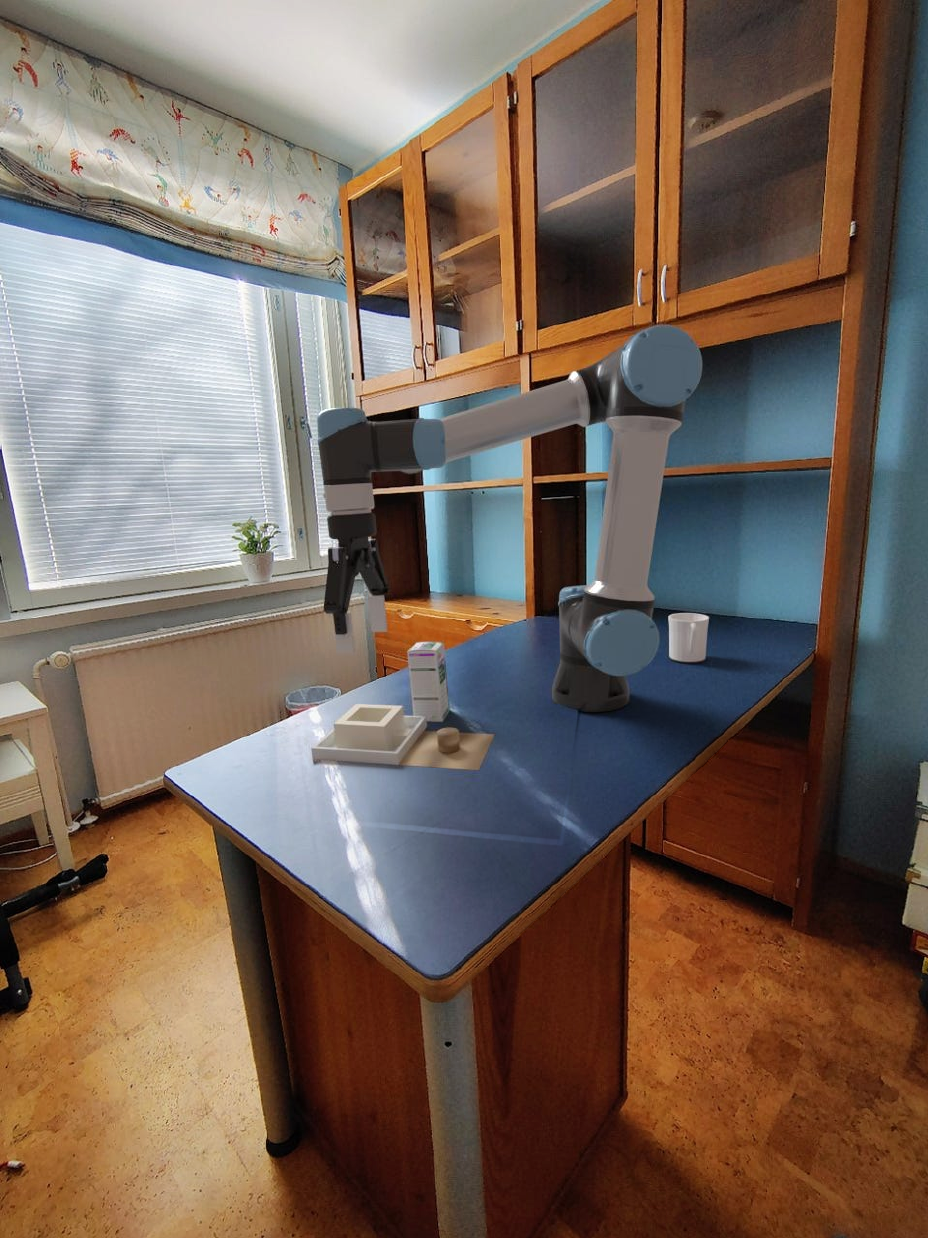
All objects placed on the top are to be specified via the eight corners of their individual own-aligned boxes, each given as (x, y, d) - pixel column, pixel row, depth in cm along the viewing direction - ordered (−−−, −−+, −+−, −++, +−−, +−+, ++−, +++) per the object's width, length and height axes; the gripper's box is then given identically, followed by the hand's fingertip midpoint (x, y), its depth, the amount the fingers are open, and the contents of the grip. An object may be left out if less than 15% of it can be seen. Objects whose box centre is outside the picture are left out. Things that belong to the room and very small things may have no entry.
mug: (663, 654, 141) (664, 613, 139) (701, 653, 140) (703, 612, 138) (673, 667, 131) (674, 624, 129) (714, 667, 130) (716, 623, 127)
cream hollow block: (358, 729, 105) (356, 703, 104) (418, 732, 102) (416, 706, 101) (336, 751, 96) (333, 723, 95) (401, 755, 93) (398, 727, 92)
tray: (427, 729, 105) (426, 716, 104) (398, 768, 90) (397, 753, 90) (351, 725, 108) (350, 713, 108) (312, 762, 94) (311, 748, 94)
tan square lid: (495, 737, 100) (494, 718, 99) (478, 773, 87) (477, 752, 86) (423, 733, 103) (422, 715, 102) (398, 768, 90) (396, 747, 90)
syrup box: (443, 724, 106) (438, 649, 103) (412, 723, 107) (406, 649, 104) (450, 713, 112) (445, 641, 109) (420, 712, 113) (415, 641, 110)
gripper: (361, 509, 103) (372, 623, 108) (287, 518, 80) (306, 664, 85) (400, 507, 101) (410, 623, 106) (337, 515, 78) (353, 664, 83)
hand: (364, 642), depth 95 cm, fingers open, 13 cm apart
